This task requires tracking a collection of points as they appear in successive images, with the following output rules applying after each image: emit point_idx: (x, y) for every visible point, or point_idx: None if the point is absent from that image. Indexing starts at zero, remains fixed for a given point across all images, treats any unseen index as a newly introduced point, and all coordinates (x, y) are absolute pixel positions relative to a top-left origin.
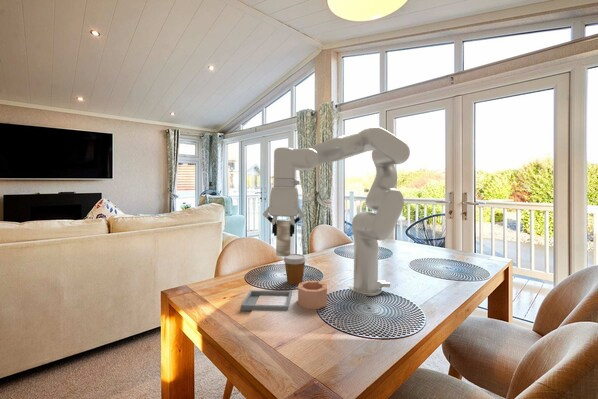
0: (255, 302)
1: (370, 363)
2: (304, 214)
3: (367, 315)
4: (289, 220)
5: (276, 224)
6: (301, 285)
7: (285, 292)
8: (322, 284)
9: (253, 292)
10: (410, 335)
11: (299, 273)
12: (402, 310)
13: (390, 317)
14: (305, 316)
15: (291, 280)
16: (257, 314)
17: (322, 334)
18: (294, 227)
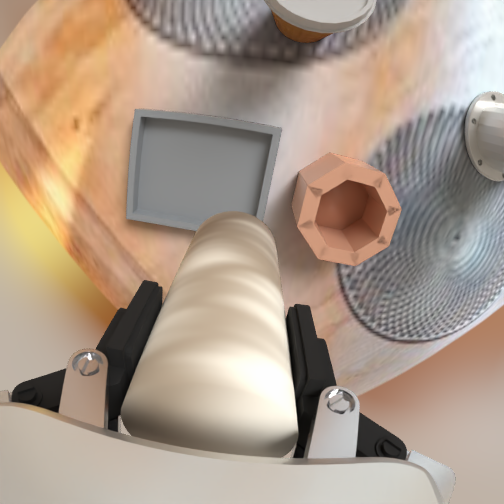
0: (161, 171)
1: (356, 385)
2: (450, 485)
3: (436, 269)
4: (285, 421)
5: (130, 379)
6: (313, 207)
7: (258, 131)
8: (387, 210)
9: (147, 116)
10: (450, 334)
11: (328, 34)
12: (498, 257)
13: (466, 281)
14: (301, 257)
15: (290, 34)
16: (176, 232)
17: (318, 327)
18: (328, 383)
